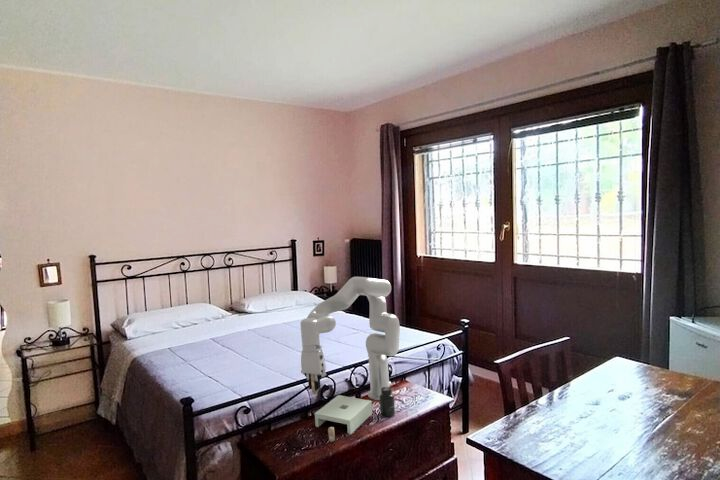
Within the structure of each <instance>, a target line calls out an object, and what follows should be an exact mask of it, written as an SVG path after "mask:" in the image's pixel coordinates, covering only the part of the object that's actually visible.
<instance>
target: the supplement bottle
mask: <svg viewBox="0 0 720 480" xmlns="http://www.w3.org/2000/svg"><path fill="white" fill-rule="evenodd" d="M392 392H393V390H392V387H383V388H381V393H382V394H381V395H380V397H379V399H380V400H379V412H380V416H382V417H384V418H391V417H394V416H395V415H396V409H395V408H396V407H395V405H396V403H395V395H394V393H393V394H392Z"/></svg>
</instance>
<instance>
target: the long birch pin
mask: <svg viewBox="0 0 720 480" xmlns="http://www.w3.org/2000/svg"><path fill="white" fill-rule="evenodd" d="M314 382H315V374H311V385H312V389H311V394H312V395H318V394H319V389H318V390H317V391H316V390H315V384H314Z"/></svg>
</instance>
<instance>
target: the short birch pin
mask: <svg viewBox="0 0 720 480" xmlns="http://www.w3.org/2000/svg"><path fill="white" fill-rule="evenodd" d="M327 432H328V433H327V434H328V441H329V442H330V443H331V442H332V443H333V442H335V440H336V435H335V427H334V426H330V427H327Z"/></svg>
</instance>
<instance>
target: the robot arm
mask: <svg viewBox="0 0 720 480" xmlns="http://www.w3.org/2000/svg"><path fill="white" fill-rule="evenodd" d="M391 292H392V285H391V283H390V281H389V280H388V279H382V278H373V277H369V276H368V277H366V276H353V277H351V278H349V279H348V281H346V283H345V284H344V285H343V286H342V287H341V288H340V289H339V290H338V291H337V293H335V294H334V295H333V296H331V297H329V298H327V299H325V300H323V301H321V302H320V303H318V304H317V305H316V306H315V307H314V308H313V309H312V310H311V311H310V312H309V314H308V315H307V317H306V318H303V319H302V320H301V321H300V333H301V334H300V335H301V345H302V350H301V352H300V353H301V355H300V368H301V370H300V373H301V374H303V375H304V376H305V378H306V381H307V382H308V383H307V384H308V389H309V390H312V385H311V374H315V382H314V384H315V390H316V391H317V390H318V391H319V389H321V385H322V384H321V380H322V379H323V378H325V377H326V376H327V372H326V371H327V369H326V368H327V367H326V362H325V356H324V353H323V350H322V349H323V346H322V345H321V342H320V334H325V333H331V332H332V331H333V330H334V329H335V328H336V325H337V323H336V322H337V321H336V319H335V318H334V317H333V316H332V315H330V314H333V313H337V312H340V311H344V310H347V309H349V308H350V307H351V306H352V304H353V303H354V302H355V301H356V300H357V299H358V297H359V296H366V297H367V300H368V302H369V319H368V321H369V327H370V329H371V330H373V331H375V333H371V334H368V336H367V337H366V339H365V348H366V351H367V352H366V353H367V355H368V356H367V357H368V368H369V381H370V384H369V385H370V390H369V391H368V392H367V396H368V398H369V399H371V400H374V401H380V399H379V397H380V395H381V394H382V393H381V388H383V387H390V386H391V385H392V382H391V380H390V376H389V361H388V357H393V356H396V355H397V353H398V351H399V350H400V349H399V348H400V332H401V331H400V330H401V328H400V320H399V318H398V316H397V315H396V314H393V313H388V312H387V300H386V297H388V296H389V295H390V294H391ZM376 332H380V333H376ZM381 333H384V334H381ZM387 356H388V357H387ZM390 388H391V387H390ZM392 394H393V395H394V392H393V391H392Z"/></svg>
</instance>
